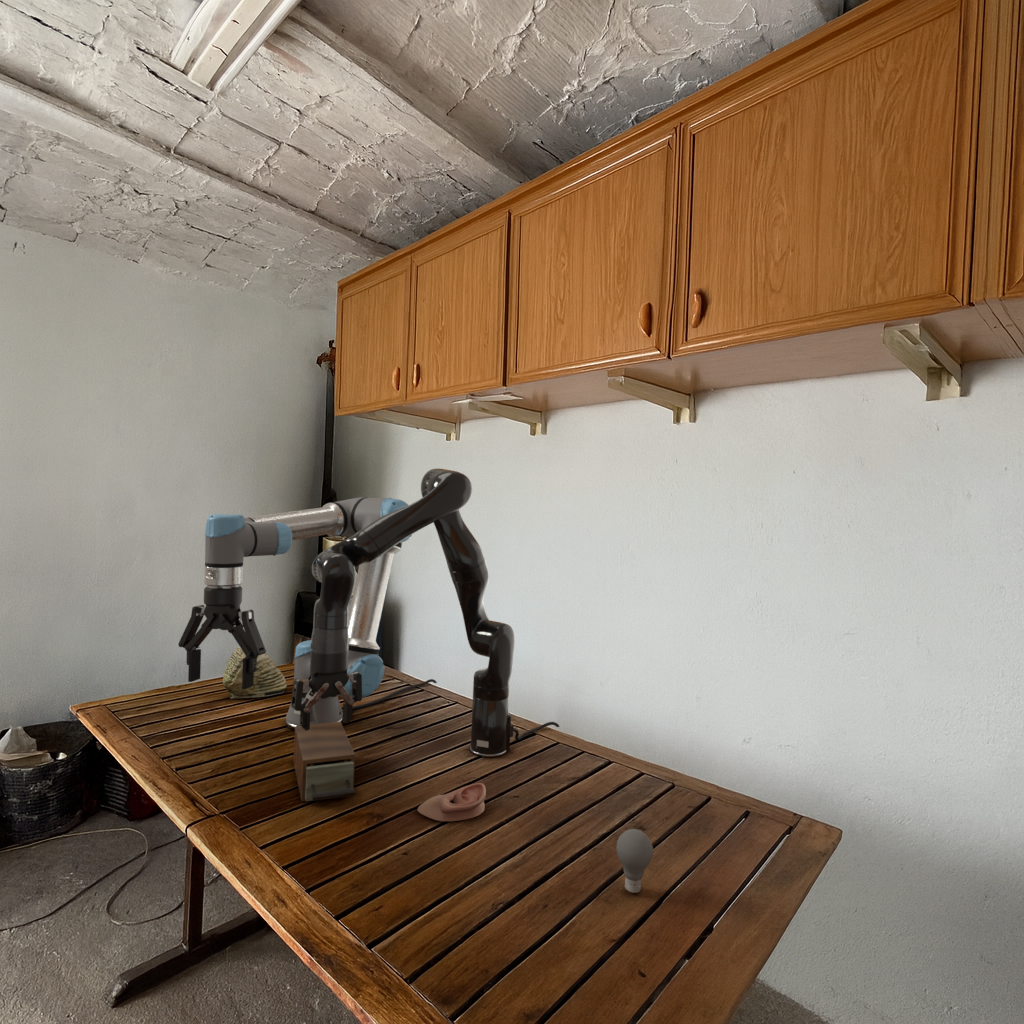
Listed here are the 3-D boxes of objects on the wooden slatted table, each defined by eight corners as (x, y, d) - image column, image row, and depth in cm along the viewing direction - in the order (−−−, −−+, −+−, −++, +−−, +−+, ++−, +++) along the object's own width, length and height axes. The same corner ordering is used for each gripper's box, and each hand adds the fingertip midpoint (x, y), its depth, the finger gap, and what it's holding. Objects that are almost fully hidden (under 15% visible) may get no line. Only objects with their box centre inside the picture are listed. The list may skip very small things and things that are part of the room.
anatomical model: (412, 797, 126) (431, 773, 138) (411, 817, 126) (430, 791, 138) (476, 807, 124) (490, 781, 135) (476, 827, 124) (489, 800, 135)
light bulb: (610, 879, 108) (613, 822, 108) (644, 879, 109) (647, 822, 109) (619, 902, 102) (622, 840, 102) (655, 901, 103) (658, 840, 103)
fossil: (218, 695, 195) (220, 647, 195) (278, 685, 208) (279, 640, 207) (228, 703, 189) (230, 653, 188) (289, 692, 201) (290, 645, 201)
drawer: (357, 807, 128) (358, 774, 128) (308, 814, 124) (309, 780, 124) (339, 758, 151) (340, 730, 151) (297, 763, 147) (298, 735, 147)
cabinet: (353, 794, 136) (355, 754, 135) (301, 801, 131) (303, 760, 131) (339, 756, 154) (340, 721, 154) (293, 762, 150) (294, 726, 150)
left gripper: (161, 583, 136) (159, 681, 136) (262, 592, 129) (259, 695, 130) (188, 579, 143) (185, 672, 143) (284, 587, 137) (281, 685, 137)
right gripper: (301, 655, 124) (298, 737, 124) (369, 648, 133) (366, 725, 133) (289, 647, 130) (285, 726, 130) (354, 641, 139) (351, 714, 139)
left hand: (220, 683), depth 137 cm, fingers open, 13 cm apart
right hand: (326, 725), depth 132 cm, fingers open, 8 cm apart
